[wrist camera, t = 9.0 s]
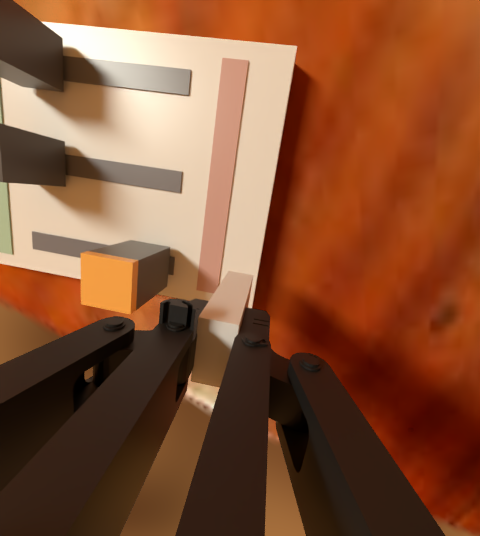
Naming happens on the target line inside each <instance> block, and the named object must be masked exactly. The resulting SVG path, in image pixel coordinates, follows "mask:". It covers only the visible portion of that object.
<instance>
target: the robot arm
mask: <svg viewBox="0 0 480 536" xmlns="http://www.w3.org/2000/svg"><path fill="white" fill-rule="evenodd" d="M252 281H253V275H249V274H244V273H238V272H233V271H228V273H227V274H226V276H225V277H224V279H223V280H222V282H221V283H220V285H219V286H218V288H217V289H216V291H215V292H214V294H213V296H212V297H211V299H210V300H209V301H206V300H201V299H193V300H191V301H188V300H184V299H169V300H164V301H163V302H161V303H160V316H159V324H158V325H157V326H156V327H155V328H154V329H153V330H150V331H141V330H135V324H134V322H133V321H132V320H130V319H128V318H124V317H118V316H114V317H110V318H105V319H102V320H99V321H97V322H95V323H92V324H90V325H88V326H86V327H83V328H81V329H79V330H77V331H75V332H72V333H70V334H68V335H66V336H63V337H61V338H59V339H57V340H55V341H52V342H50V343H48V344H46V345H44V346H42V347H39V348H37V349H34V350H32V351H30V352H28V353H26V354H24V355H21V356H19V357H17V358H14V359H12V360H10V361H8V362H6V363H3V364H1V365H0V536H120V534H121V531H122V529H123V527H124V525H125V523H126V521H127V519H128V516H129V514H130V511H131V510H132V508H133V506H134V503H135V501H136V499H137V497H138V495H139V493H140V490H141V488H142V486H143V484H144V482H145V479H146V477H147V475H148V473H149V471H150V468H151V466H152V464H153V461H154V460H155V458H156V456H157V453H158V451H159V449H160V447H161V445H162V443H163V440H164V438H165V436H166V434H167V432H168V430H169V427H170V425H171V423H172V421H173V419H174V417H175V414H176V412H177V410H178V408H179V406H180V404H181V401H182V399H183V397H184V395H185V393H186V391H187V385H188V378H189V376H190V374H191V371H192V375H191V381H192V382H197V383H202V384H206V385H211V386H215V387H220V389H219V392H218V395H217V399H216V402H215V405H214V409H213V412H212V415H211V419H210V422H209V425H208V429H207V432H206V435H205V439H204V442H203V445H202V449H201V452H200V456H199V459H198V462H197V466H196V469H195V472H194V476H193V479H192V482H191V486H190V489H189V492H188V496H187V499H186V502H185V506H184V509H183V512H182V516H181V519H180V522H179V526H178V529H177V532H176V536H265V505H266V476H267V446H268V445H267V444H268V417H269V418H271V419H273V420H275V421H276V430H277V433H278V437H279V440H280V444H281V448H282V451H283V454H284V458H285V462H286V465H287V469H288V472H289V476H290V480H291V483H292V487H293V490H294V494H295V498H296V501H297V505H298V508H299V512H300V515H301V519H302V523H303V526H304V530H305V534H306V536H445V535H444V533H443V531H442V530H441V528H440V527H439V526H438V524H437V523H436V521H435V520H434V518H433V517H432V515H431V514H430V512H429V511H428V509H427V508H426V506H425V505H424V504H423V502H422V501H421V499H420V498H419V496H418V495H417V493H416V492H415V490H414V489H413V487H412V486H411V485H410V483H409V482H408V480H407V479H406V477H405V476H404V474H403V473H402V471H401V470H400V468H399V467H398V465H397V464H396V463H395V461H394V460H393V458H392V457H391V455H390V454H389V452H388V451H387V449H386V448H385V446H384V445H383V444H382V442H381V441H380V439H379V438H378V436H377V435H376V433H375V432H374V430H373V429H372V427H371V426H370V424H369V423H368V422H367V420H366V419H365V417H364V416H363V414H362V413H361V411H360V410H359V408H358V407H357V405H356V404H355V402H354V401H353V400H352V398H351V397H350V395H349V394H348V392H347V391H346V389H345V388H344V386H343V385H342V383H341V382H340V381H339V379H338V378H337V376H336V375H335V373H334V372H333V370H332V369H331V367H330V366H329V365H328V364H327V363H326V362H325V361H324V360H323V359H321V358H319V357H318V356H316V355H313V354H310V353H296V354H294V355H292V356H291V358H290V360H289V359H286V358H284V357H282V356H280V355H278V354H276V353H275V352H274V351H273V350H272V349H271V344H270V341H269V328H270V327H269V326H270V316H269V314H268V313H267V312H266V311H263V310H258V309H252V308H248V305H249V299H250V293H251V287H252ZM91 367H93V376H92V377H90V378H89V379H87V380H85V379H84V372H85V371H86V370H88V369H89V368H91Z"/></svg>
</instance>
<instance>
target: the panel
mask: <svg viewBox="0 0 480 536" xmlns="http://www.w3.org/2000/svg"><path fill="white" fill-rule="evenodd" d="M42 23H43V24H45V25H46V26H47V27H49V28H50V29H51V30H53V31H54V32H55V33H56V34H58V35H59V36H60V37H62V38H63V80H64V92H59V91H51V90H43V89H35V88H26V87H21V86H19V85H17V84H15V83H12V82H10V81H8V80H6V79H4V78H1V77H0V123H1V124H5V125H8V126H12V127H15V128H19V129H22V130H26V131H29V132H33V133H37V134H40V135H44V136H47V137H51V138H54V139H58V140H61V141H65V172H66V187H62V186H47V185H33V184H19V183H5V182H0V263H1V264H6V265H11V266H16V267H21V268H26V269H31V270H36V271H41V272H47V273H52V274H57V275H62V276H67V277H72V278H77V279H81V253H82V252H86V251H90V250H94V249H98V248H102V247H106V246H110V245H113V244H117V243H121V242H125V241H129V240H134V241H139V242H145V243H151V244H156V245H162V246H168V247H170V258H169V270H168V283H167V287H166V288H164V289H163V290H162V291H161V292H159V293H158V295H163V296H168V297H173V298H178V299H184V300H189V301H191V300H193V299H201V300H206V301H209V300H210V299H211V297H212V296H213V294H214V292H215V291H216V289H217V288H218V286H219V285H220V283H221V282H222V280H223V279H224V277H225V276H226V274H227V273H228V271H233V272H238V273H244V274H249V275H253V281H252V287H251V293H250V299H249V305H248V308H252V306H253V302H254V296H255V291H256V285H257V279H258V273H259V268H260V262H261V256H262V250H263V245H264V239H265V233H266V227H267V222H268V216H269V210H270V204H271V199H272V193H273V187H274V181H275V176H276V170H277V164H278V158H279V153H280V147H281V141H282V135H283V130H284V124H285V118H286V112H287V107H288V101H289V95H290V89H291V84H292V78H293V72H294V66H295V59H296V51H297V46H290V45H280V44H269V43H259V42H248V41H238V40H228V39H217V38H207V37H196V36H186V35H176V34H165V33H155V32H144V31H134V30H123V29H113V28H103V27H92V26H82V25H71V24H61V23H50V22H42Z"/></svg>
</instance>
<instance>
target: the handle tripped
mask: <svg viewBox="0 0 480 536" xmlns="http://www.w3.org/2000/svg"><path fill="white" fill-rule="evenodd" d="M169 258H170V247H168V246H162V245H156V244H151V243H145V242H139V241H134V240H129V241H125V242H121V243H117V244H113V245H110V246H106V247H102V248H98V249H94V250H90V251H86V252H82V253H81V304H83V305H88V306H92V307H97V308H102V309H107V310H112V311H117V312H121V313H126V314H132V313H133V312H134V311H136V310H137V309H138V308H139V307H141V306H142V305H143V304H145V303H146V302H147V301H149V300H150V299H151V298H153V297H154V296H155V295H157V294H158V293H159V292H161V291H162V290H163V289H164V288H166V287H167V283H168V270H169Z"/></svg>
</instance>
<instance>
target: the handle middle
mask: <svg viewBox="0 0 480 536" xmlns="http://www.w3.org/2000/svg"><path fill="white" fill-rule="evenodd" d="M0 182H5V183H19V184H33V185H47V186H62V187H66V172H65V141H61V140H58V139H54V138H51V137H47V136H44V135H40V134H37V133H33V132H29V131H26V130H22V129H19V128H15V127H12V126H8V125H5V124H1V123H0Z"/></svg>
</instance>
